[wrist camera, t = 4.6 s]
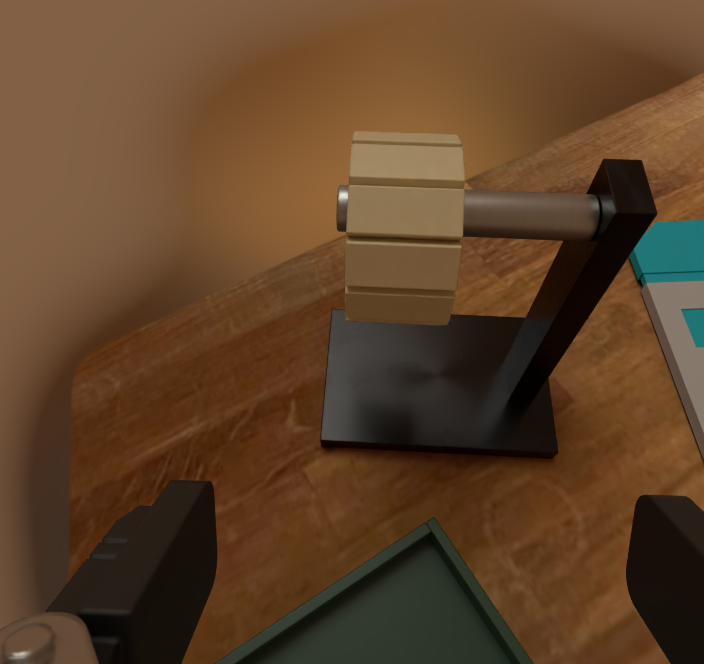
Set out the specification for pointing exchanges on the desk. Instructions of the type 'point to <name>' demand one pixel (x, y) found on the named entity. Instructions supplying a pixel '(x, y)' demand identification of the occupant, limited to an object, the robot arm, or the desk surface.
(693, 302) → the square teal disk
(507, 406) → the hook stand
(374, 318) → the gear wheel
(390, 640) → the tray
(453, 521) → the desk surface
